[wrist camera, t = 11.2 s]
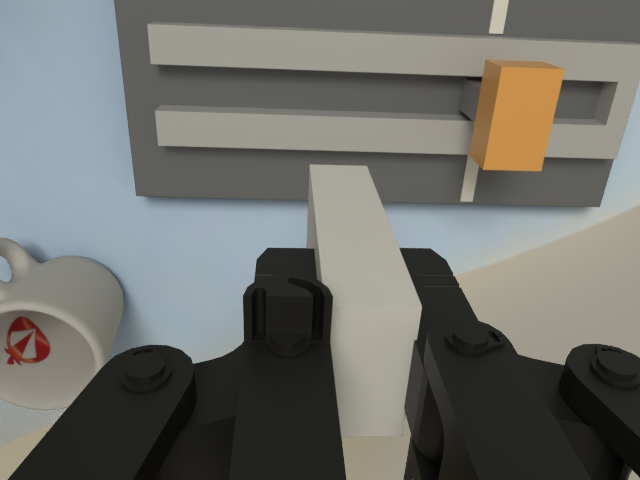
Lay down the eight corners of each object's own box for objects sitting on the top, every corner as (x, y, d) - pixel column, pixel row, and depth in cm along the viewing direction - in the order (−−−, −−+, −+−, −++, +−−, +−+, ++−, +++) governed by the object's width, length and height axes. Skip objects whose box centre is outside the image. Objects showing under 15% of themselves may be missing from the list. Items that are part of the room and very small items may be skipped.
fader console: (144, 184, 36) (129, 205, 33) (118, -57, 30) (98, -60, 27) (585, 195, 38) (611, 216, 34) (647, -30, 31) (686, -30, 28)
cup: (-32, 241, 37) (-109, 306, 30) (60, 187, 36) (2, 241, 28) (74, 351, 41) (28, 430, 34) (160, 306, 40) (131, 379, 33)
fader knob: (450, 135, 33) (482, 169, 27) (463, 49, 31) (501, 66, 25) (498, 136, 33) (540, 171, 28) (514, 51, 31) (564, 69, 25)
